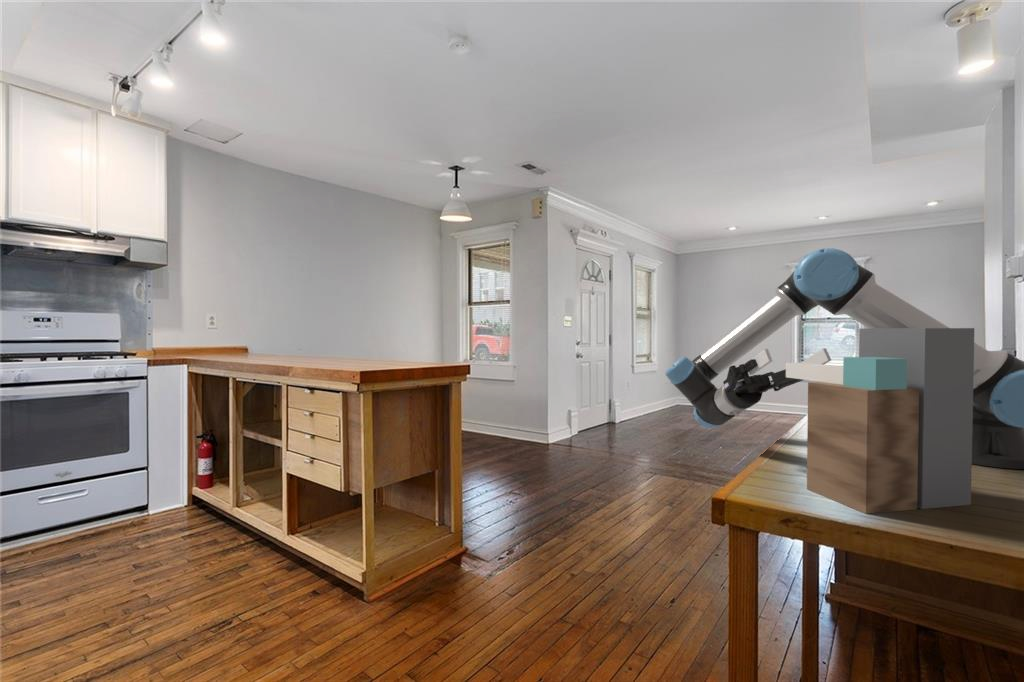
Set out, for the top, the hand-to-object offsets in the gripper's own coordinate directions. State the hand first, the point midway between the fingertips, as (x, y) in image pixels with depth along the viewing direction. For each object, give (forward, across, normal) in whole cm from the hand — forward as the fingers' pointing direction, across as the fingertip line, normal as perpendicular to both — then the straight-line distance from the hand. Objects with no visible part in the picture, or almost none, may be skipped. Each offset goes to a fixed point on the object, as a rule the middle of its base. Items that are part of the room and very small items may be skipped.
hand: (798, 354), depth 95 cm
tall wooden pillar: (-1, -1, -28) cm, 28 cm away
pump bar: (+5, 0, -8) cm, 9 cm away
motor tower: (-1, -12, -28) cm, 30 cm away
